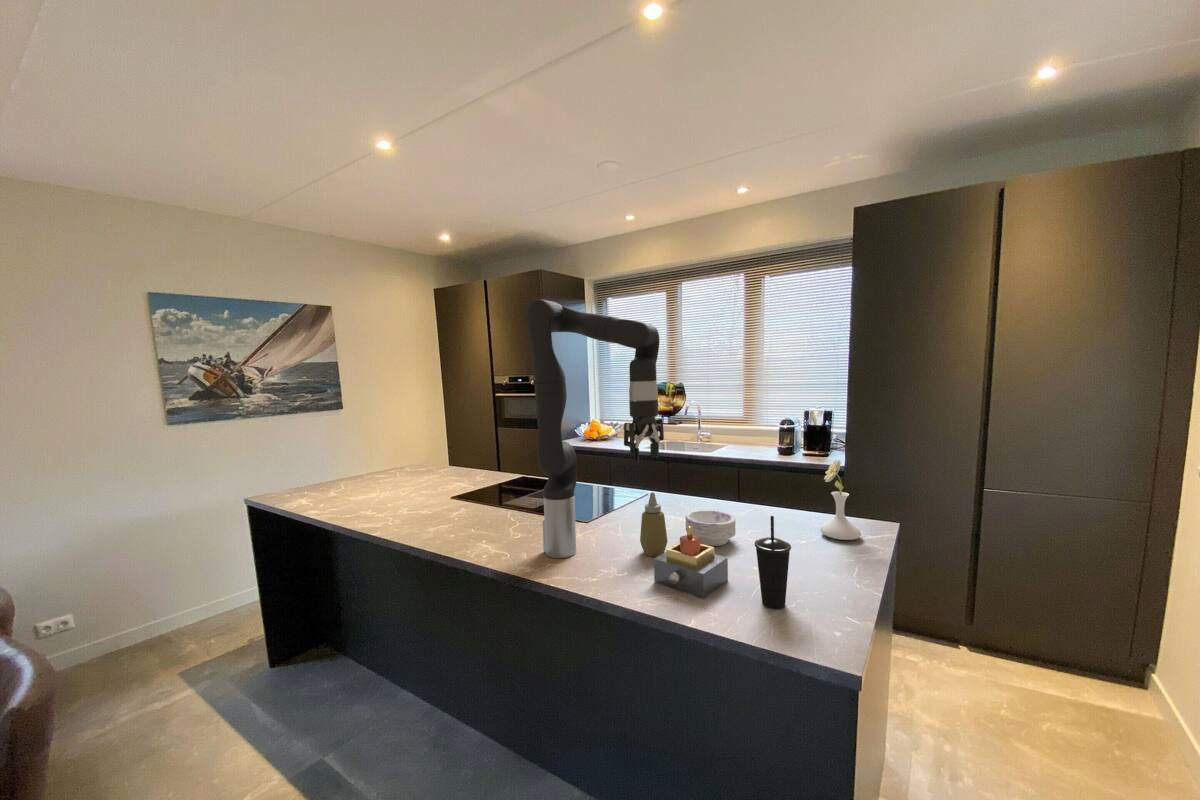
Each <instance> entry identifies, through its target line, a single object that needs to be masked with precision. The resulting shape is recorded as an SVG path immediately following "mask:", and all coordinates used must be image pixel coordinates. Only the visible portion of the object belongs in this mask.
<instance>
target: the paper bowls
mask: <svg viewBox="0 0 1200 800" xmlns="http://www.w3.org/2000/svg"><path fill="white" fill-rule="evenodd" d="M684 523H685V532H686V533H687V526H692V530H693V536H697V537H699V538H700V544H703V545H707V546H711V547H719V546H723V545H725V544H727V543H728V541H729V539H732V538H733V537H735V536H736V517H735V516H734V515H732V514H730V513H727V512H724V511H719V510H709V509H704V510H702V509H700V510H694V511H689V512H688V513H686V515H685V522H684Z"/></svg>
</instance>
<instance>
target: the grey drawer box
mask: <svg viewBox="0 0 1200 800" xmlns="http://www.w3.org/2000/svg"><path fill="white" fill-rule="evenodd" d="M728 564H729V563H728V557H726V556H723V555H719V554H717V553H715V546H707V545H703V544H700V554H698V555H697V556H693V555H689V554H686V553H682V552H680V542H678V543H676V544H674V545H672V546H671V547H668V548H665V552H664V554H662V555H660V556H655V558H653V572H654V573H653V574H654V575H653V576H654V577H653V578H654V579H653V581H654V583H656V584H659V585H663V586H665V587H668V588H671V589H674V590H676V591H679V592H681V593H685V594H687V595H690V596H693V597H697V598H699V599H702V600H705V599H706V598H708V597H709V596H710V595H712V593H714V592H715V591H717V590H718V589H720V588H721V587H722V586H723V585H724V584H726V583H727V582H728V581H729V575H728V574H729V567H728V566H729V565H728Z"/></svg>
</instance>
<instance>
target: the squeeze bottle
mask: <svg viewBox="0 0 1200 800" xmlns="http://www.w3.org/2000/svg"><path fill="white" fill-rule="evenodd" d="M656 498H657V497H656V493H655V492H650V494H649V498H648V503H645V505H644V511H643V512H641V522H640V523H641V525H640V536H639V537H640V538H639V542H640V544H641V547H642V551H643V554H644V555H646V556H649V557H658V556H660V555H662V554H664V553H665V552H666V549H667V548H666V547H667V545H668V535H667V526H666V518H665V513H664V512H663V511H662V506H661V504H660V503H658V502H657V499H656Z"/></svg>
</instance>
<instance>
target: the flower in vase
mask: <svg viewBox="0 0 1200 800" xmlns="http://www.w3.org/2000/svg"><path fill="white" fill-rule="evenodd" d="M841 467H842V463H841V460H840V459H835V460H834V461H833V462H831V463H830V464H829V467H828V470H826V471H825V476H824V478H823V480H825V481H824V482H826V483H830V482H831V481H832V480H834V478H836V476H837V478H838V479H837V480H836V481H835V483H834V486H835V488H837V489H838V490H839V491H832V492H830V494H831V495H832V497H833V499H834V502H835V515H834V517H833V518H831V519H829V520H827V521H826V522H825V523H823V524H822V525H821V526H820V529H819V530H820V532H821V534H822V535H824V536H826V537H828V538H831V539H833V540H834V539H835V540H840V541H851V540H852V541H854V540H857V539H860V538H861V536H862V533H861V530H860V529H859V528H858V527H857V526H856V525H855V524H853V523H852V522H850V520H849V519H847V517H846V515H845V506H846V505H845V504H846V500H847V498H849V496H850V494H849V493H848V492H844V491H843V489H844V485H843V483H842V480H841V477H840V475H839V474H838V473H839V471H840V468H841Z"/></svg>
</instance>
